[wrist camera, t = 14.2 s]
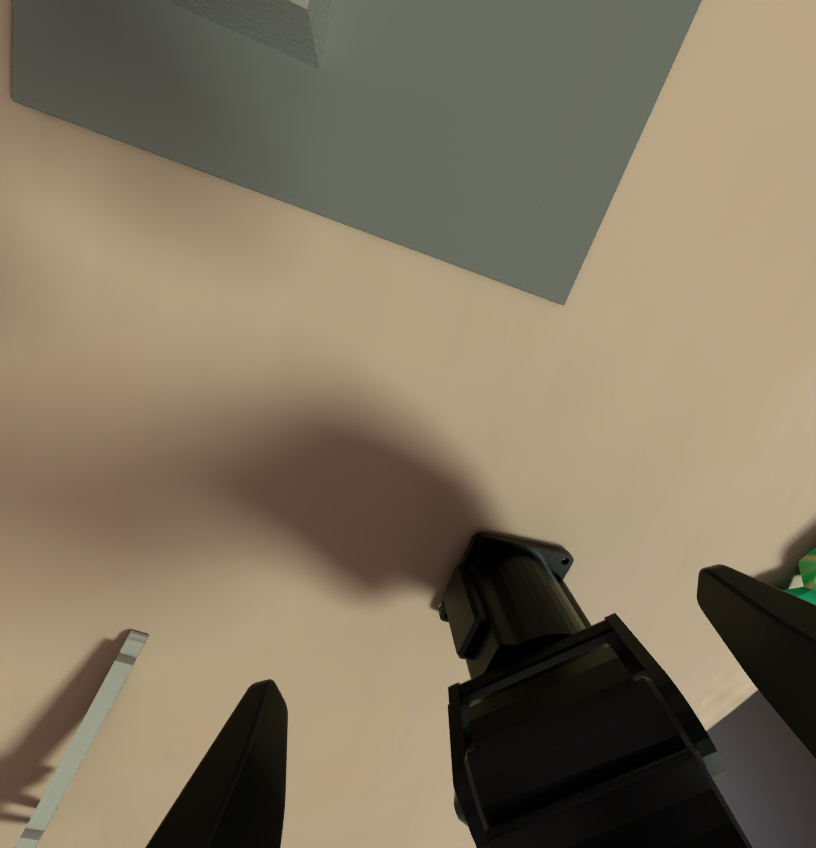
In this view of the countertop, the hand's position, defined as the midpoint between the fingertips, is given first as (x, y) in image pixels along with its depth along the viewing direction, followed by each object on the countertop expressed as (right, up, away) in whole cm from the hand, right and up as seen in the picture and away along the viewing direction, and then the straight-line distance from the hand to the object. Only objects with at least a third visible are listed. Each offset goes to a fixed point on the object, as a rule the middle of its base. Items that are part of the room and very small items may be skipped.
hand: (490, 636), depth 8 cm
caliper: (-22, -16, +18) cm, 33 cm away
